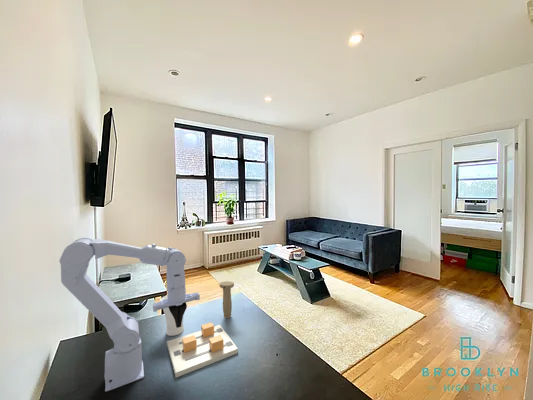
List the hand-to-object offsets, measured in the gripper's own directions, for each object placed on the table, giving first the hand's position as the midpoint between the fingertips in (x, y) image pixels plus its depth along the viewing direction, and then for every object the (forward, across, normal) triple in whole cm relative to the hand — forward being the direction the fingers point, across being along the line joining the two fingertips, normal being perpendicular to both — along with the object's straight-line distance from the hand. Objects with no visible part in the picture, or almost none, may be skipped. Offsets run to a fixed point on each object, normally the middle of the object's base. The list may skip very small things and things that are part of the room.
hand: (178, 326), depth 76 cm
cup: (+11, +1, +17) cm, 20 cm away
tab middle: (+9, +3, 0) cm, 9 cm away
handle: (+11, +23, +16) cm, 30 cm away
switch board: (+11, +7, 0) cm, 13 cm away
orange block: (+9, +11, -5) cm, 15 cm away
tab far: (+9, +11, +5) cm, 15 cm away
